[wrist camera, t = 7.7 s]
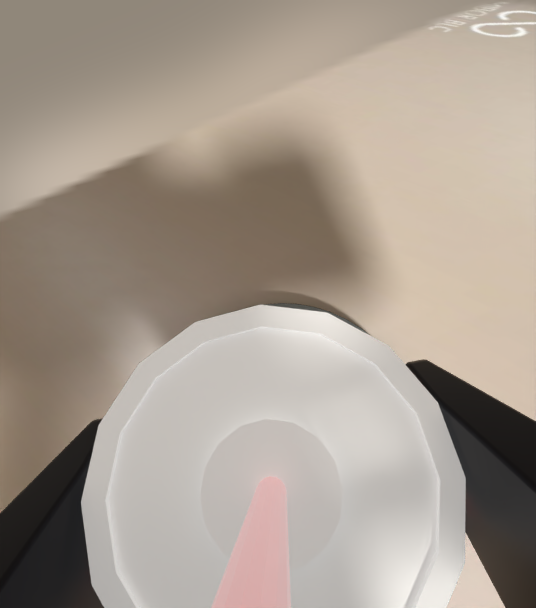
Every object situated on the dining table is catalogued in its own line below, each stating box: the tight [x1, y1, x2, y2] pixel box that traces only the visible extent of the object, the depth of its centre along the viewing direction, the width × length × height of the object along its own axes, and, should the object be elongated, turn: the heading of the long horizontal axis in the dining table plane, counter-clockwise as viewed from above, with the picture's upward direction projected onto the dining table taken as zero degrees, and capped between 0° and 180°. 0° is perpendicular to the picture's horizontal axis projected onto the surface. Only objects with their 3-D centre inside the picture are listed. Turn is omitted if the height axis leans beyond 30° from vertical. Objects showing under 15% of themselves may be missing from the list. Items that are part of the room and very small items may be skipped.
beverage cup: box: [81, 305, 466, 608], centre depth 8 cm, size 6×6×14 cm
